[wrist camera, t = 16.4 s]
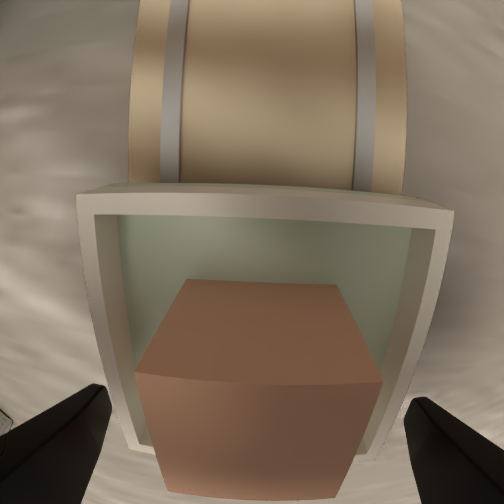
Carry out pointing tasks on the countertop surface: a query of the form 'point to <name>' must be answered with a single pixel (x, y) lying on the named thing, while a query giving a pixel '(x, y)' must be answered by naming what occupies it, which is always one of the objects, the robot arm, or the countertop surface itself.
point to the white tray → (261, 270)
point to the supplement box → (4, 424)
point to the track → (269, 94)
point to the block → (257, 390)
